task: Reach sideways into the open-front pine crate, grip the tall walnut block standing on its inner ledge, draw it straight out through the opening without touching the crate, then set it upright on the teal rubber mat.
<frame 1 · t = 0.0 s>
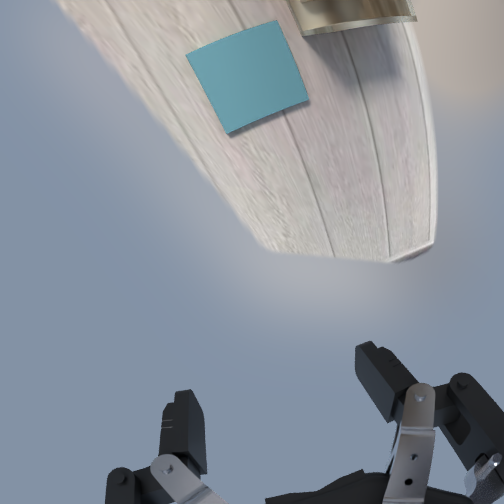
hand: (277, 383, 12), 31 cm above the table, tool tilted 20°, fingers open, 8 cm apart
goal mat: (249, 74, 30), on the table
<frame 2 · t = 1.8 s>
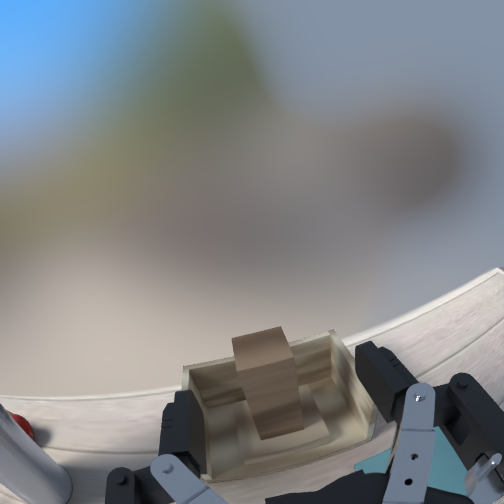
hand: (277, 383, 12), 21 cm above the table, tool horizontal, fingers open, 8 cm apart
crate: (279, 428, 30), on the table
walnut block: (278, 419, 29), point 3 cm above the table, touching crate
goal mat: (422, 481, 17), on the table
kendama: (10, 438, 26), on the table
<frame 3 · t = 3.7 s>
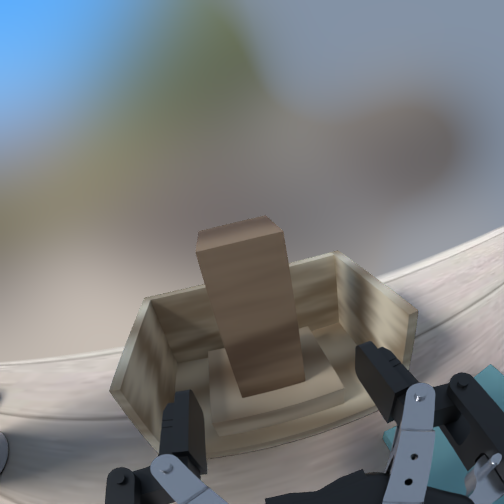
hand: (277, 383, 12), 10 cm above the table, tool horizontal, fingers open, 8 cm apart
crate: (271, 388, 23), on the table
walnut block: (267, 370, 22), point 3 cm above the table, touching crate
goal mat: (481, 449, 10), on the table
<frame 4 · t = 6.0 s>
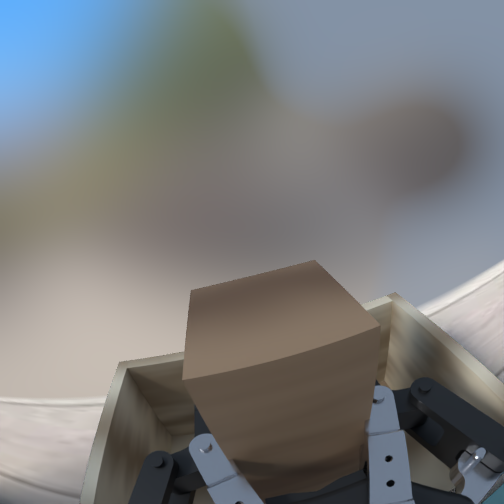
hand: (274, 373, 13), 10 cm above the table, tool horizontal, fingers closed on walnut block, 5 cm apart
crate: (300, 479, 14), on the table
walnut block: (299, 469, 12), point 3 cm above the table, touching crate, gripper
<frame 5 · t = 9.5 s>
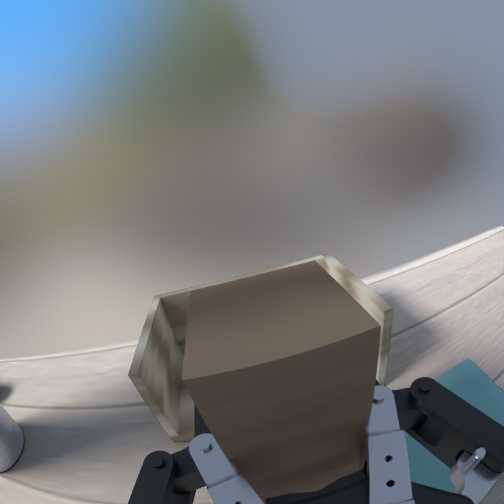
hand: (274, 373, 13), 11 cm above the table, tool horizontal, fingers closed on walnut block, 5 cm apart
crate: (268, 376, 27), on the table
walnut block: (299, 469, 12), point 4 cm above the table, touching gripper
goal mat: (456, 435, 13), on the table
when the fingers open (9 cm above the table, at t = 13.1 s): walnut block drops 1 cm, resting on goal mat.
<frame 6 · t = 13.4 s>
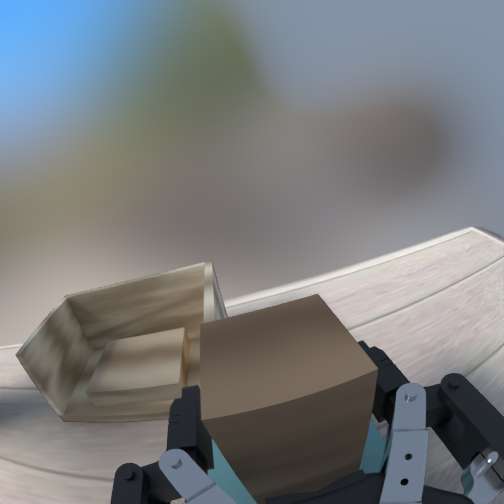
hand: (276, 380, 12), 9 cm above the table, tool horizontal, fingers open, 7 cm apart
crate: (148, 376, 26), on the table
walnut block: (301, 478, 13), point 1 cm above the table, touching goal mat
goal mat: (301, 482, 13), on the table
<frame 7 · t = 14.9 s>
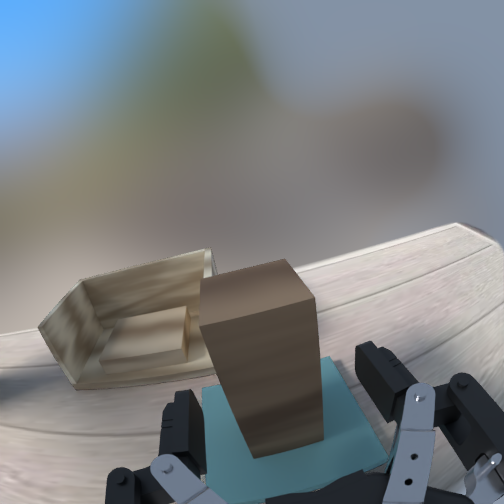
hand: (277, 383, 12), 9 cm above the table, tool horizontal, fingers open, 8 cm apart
crate: (154, 349, 31), on the table
walnut block: (281, 425, 18), point 1 cm above the table, touching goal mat
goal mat: (282, 431, 18), on the table
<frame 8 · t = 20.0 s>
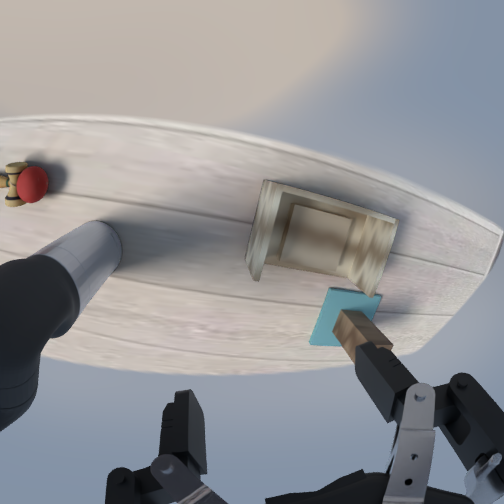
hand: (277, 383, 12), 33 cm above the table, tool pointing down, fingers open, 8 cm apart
crate: (311, 232, 45), on the table
walnut block: (347, 321, 51), point 1 cm above the table, touching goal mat
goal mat: (345, 318, 52), on the table
kendama: (18, 181, 35), on the table
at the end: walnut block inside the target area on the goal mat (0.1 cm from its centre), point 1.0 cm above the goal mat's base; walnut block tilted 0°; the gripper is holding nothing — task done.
